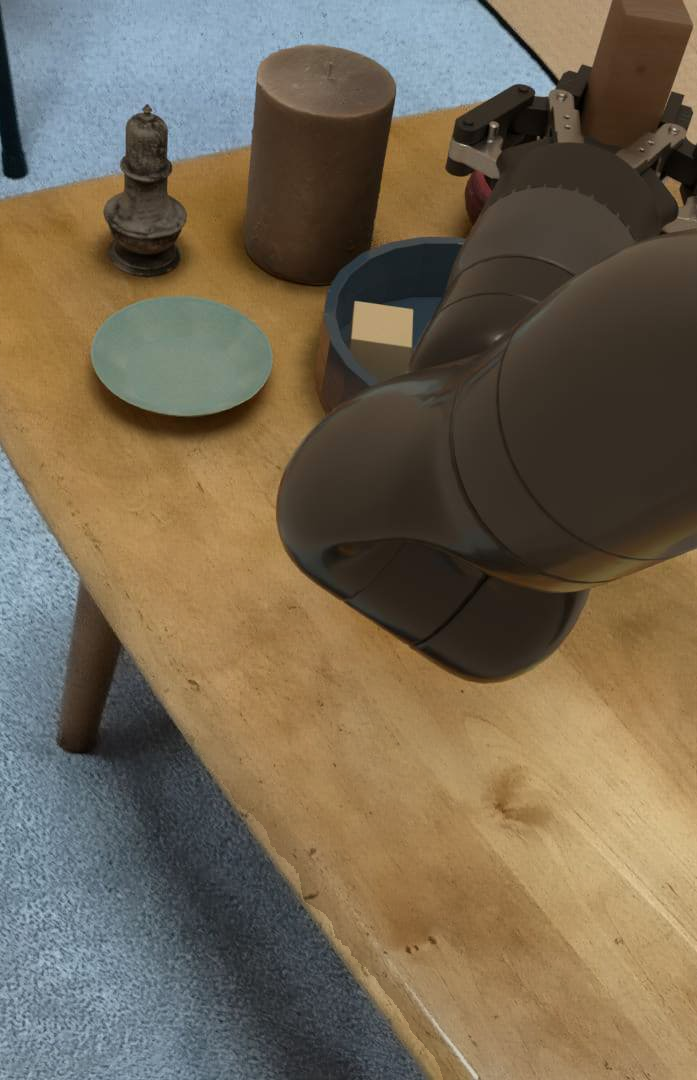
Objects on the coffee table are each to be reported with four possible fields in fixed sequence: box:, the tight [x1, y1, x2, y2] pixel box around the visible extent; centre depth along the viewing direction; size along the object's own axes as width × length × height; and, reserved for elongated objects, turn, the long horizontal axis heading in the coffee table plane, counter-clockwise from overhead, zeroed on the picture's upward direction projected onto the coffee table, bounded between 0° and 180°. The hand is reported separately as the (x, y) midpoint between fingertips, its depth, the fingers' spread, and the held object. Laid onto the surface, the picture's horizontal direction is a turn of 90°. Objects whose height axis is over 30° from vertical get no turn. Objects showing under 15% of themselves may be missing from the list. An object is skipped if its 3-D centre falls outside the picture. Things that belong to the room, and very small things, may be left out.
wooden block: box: [579, 0, 694, 148], centre depth 62 cm, size 7×3×15 cm, turn 89°
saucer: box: [90, 295, 274, 418], centre depth 82 cm, size 12×12×2 cm
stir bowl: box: [314, 236, 467, 415], centre depth 84 cm, size 20×20×6 cm
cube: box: [347, 301, 413, 382], centre depth 83 cm, size 4×4×4 cm
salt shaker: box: [102, 103, 188, 278], centre depth 86 cm, size 6×6×12 cm
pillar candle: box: [243, 43, 397, 286], centre depth 88 cm, size 10×10×15 cm
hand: (626, 97), depth 63 cm, fingers closed on wooden block, 4 cm apart
